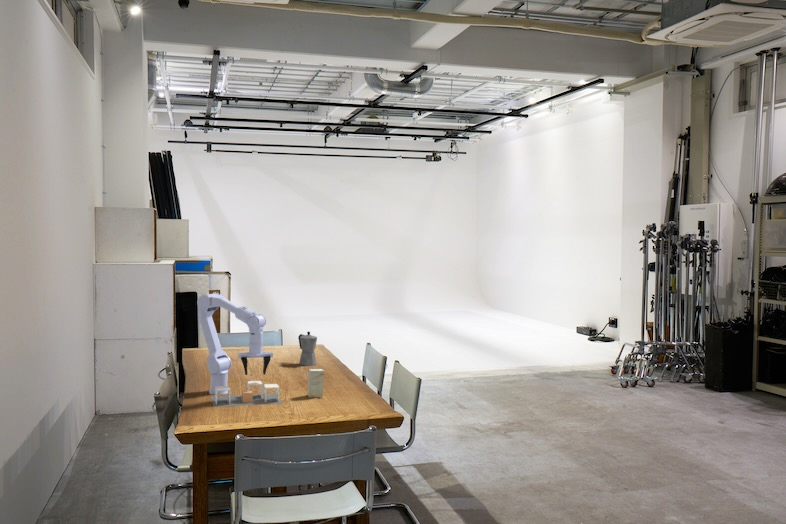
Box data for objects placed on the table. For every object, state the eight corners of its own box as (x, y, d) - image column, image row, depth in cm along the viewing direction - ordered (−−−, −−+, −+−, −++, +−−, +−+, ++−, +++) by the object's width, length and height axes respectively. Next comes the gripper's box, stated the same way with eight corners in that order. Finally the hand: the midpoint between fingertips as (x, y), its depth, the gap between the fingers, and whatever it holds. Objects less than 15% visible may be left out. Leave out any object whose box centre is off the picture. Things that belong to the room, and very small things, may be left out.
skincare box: (309, 398, 288) (310, 371, 287) (307, 396, 292) (307, 369, 291) (323, 397, 290) (324, 370, 289) (320, 395, 294) (321, 368, 294)
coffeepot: (322, 365, 360) (323, 332, 359) (308, 367, 354) (308, 333, 353) (305, 360, 371) (306, 328, 370) (291, 362, 365) (292, 330, 364)
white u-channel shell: (247, 395, 287) (247, 381, 287) (260, 394, 289) (260, 380, 289) (248, 398, 281) (249, 384, 281) (262, 398, 283) (262, 383, 283)
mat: (210, 397, 283) (210, 396, 283) (276, 394, 292) (276, 393, 292) (213, 408, 267) (213, 406, 267) (282, 404, 276) (282, 403, 276)
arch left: (214, 401, 276) (215, 386, 276) (228, 400, 278) (229, 385, 277) (216, 404, 270) (216, 389, 270) (230, 404, 272) (230, 389, 272)
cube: (241, 400, 278) (241, 391, 278) (251, 399, 280) (251, 390, 280) (242, 402, 275) (243, 393, 274) (252, 402, 276) (252, 392, 276)
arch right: (263, 398, 282) (263, 384, 282) (276, 398, 284) (276, 383, 284) (265, 402, 277) (265, 387, 276) (278, 401, 279) (279, 387, 278)
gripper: (239, 344, 278) (239, 376, 278) (274, 344, 283) (273, 375, 283) (238, 342, 285) (237, 373, 285) (271, 341, 289) (271, 372, 290)
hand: (255, 374), depth 285 cm, fingers open, 7 cm apart
